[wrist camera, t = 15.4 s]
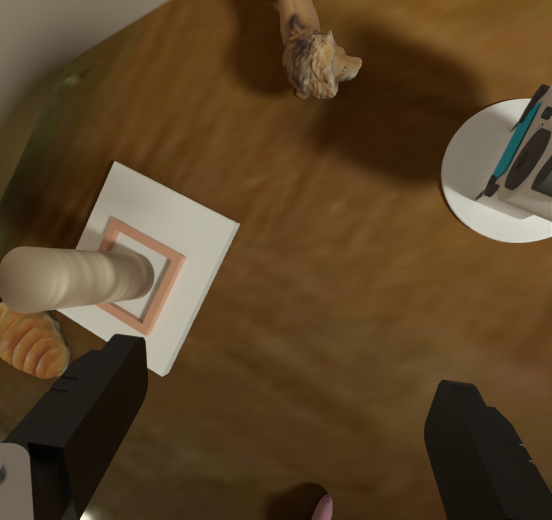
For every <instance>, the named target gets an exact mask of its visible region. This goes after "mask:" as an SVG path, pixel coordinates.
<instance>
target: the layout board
mask: <svg viewBox="0 0 552 520" xmlns="http://www.w3.org/2000/svg"><path fill="white" fill-rule="evenodd" d="M239 225H240V224H239V223H237V222H235V221H233V220H231V219H229V218H227V217H225V216H223V215H222V214H220V213H218V212H216V211H214V210H212V209H210V208H208V207H206V206H204V205H202V204H200V203H198V202H196V201H194V200H192V199H190V198H188V197H186V196H184V195H182V194H180V193H178V192H176V191H174V190H172V189H170V188H168V187H166V186H164V185H162V184H160V183H158V182H156V181H154V180H152V179H150V178H148V177H146V176H145V175H143V174H141V173H139V172H137V171H135V170H133V169H131V168H129V167H127V166H125V165H123V164H121V163H118V162H116V161H114V163H113V166H112V168H111V170H110V172H109V175H108V177H107V179H106V182H105V184H104V186H103V188H102V191H101V193H100V195H99V197H98V200H97V202H96V204H95V206H94V209H93V211H92V213H91V215H90V218H89V220H88V222H87V225H86V227H85V229H84V231H83V234H82V236H81V238H80V240H79V243H78V245H77V247H76V249H75V250H90V251H107V252H123V253H137V254H141V255H143V256H145V257H146V258H147V259H148V260H149V261H150V262H151V264H152V266H153V269H154V283H153V286H152V288H151V290H150V291H149V293H148V294H147V295H145V296H144V297H142V298H139V299H134V300H126V301H118V302H110V303H102V304H94V305H87V306H79V307H71V308H63V309H57V310H58V311H60V312H61V313H63V314H64V315H66V316H68V317H69V318H71V319H72V320H74V321H75V322H77V323H79V324H80V325H82V326H83V327H85V328H86V329H88V330H90V331H91V332H93V333H94V334H96V335H97V336H99V337H101V338H102V339H104V340H105V341H107V342H108V341H109V340H110V338H111V337H112V336H113V335H114V334H124V335H131V336H139V337H144V339H145V341H146V353H147V367H148V368H149V369H151V370H152V371H154V372H155V373H157V374H159V375H160V376H164V375H166V374H168V373H169V371H170V369H171V367H172V365H173V363H174V361H175V359H176V357H177V355H178V352H179V350H180V348H181V346H182V344H183V342H184V340H185V338H186V336H187V334H188V332H189V330H190V327H191V325H192V323H193V321H194V319H195V317H196V315H197V313H198V311H199V309H200V307H201V305H202V302H203V300H204V298H205V296H206V294H207V292H208V290H209V288H210V286H211V284H212V282H213V280H214V277H215V275H216V273H217V271H218V269H219V267H220V265H221V263H222V261H223V259H224V257H225V255H226V252H227V250H228V248H229V246H230V244H231V242H232V240H233V238H234V236H235V234H236V232H237V230H238V228H239Z"/></svg>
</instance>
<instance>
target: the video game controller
mask: <svg viewBox="0 0 552 520" xmlns="http://www.w3.org/2000/svg"><path fill="white" fill-rule="evenodd" d="M332 505H333V504H332V498H331V496H330V495H325V496H323V497H322V498H321V500H320V501H319V503H318V505H317V507H316V509H315V511H314V514H313V516H312V519H311V520H331V517H332Z"/></svg>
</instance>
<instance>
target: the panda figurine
mask: <svg viewBox="0 0 552 520" xmlns="http://www.w3.org/2000/svg"><path fill="white" fill-rule="evenodd" d="M541 97H542V98H541ZM540 98H541V99H540ZM539 99H540V100H539ZM441 182H442V188H443V192H444V195H445V198H446V200H447V203H448V205H449V206H450V208H451V210H452V211H453V212H454V214H455V215H456V216H457V217H458V219H459V220H460V221H461V222H462V223H464V224H465V225H466V226H467V227H469V228H470V229H471V230H473V231H475V232H476V233H478V234H480V235H482V236H485V237H487V238H490V239H493V240H497V241H502V242H510V243H523V242H532V241H538V240H542V239H545V238H548V237H551V236H552V85H551V86H547V85H544V84H543V85H541V86H540V87H539V89H538V90H537V91H536V93H535V94H534V96H533V97H532V99H515V100H509V101H504V102H500V103H498V104H495V105H492V106H490V107H487V108H485V109H483V110H482V111H480V112H478V113H477V114H475V115H474V116H472V117H471V118H470V119H469V120H467V121H466V122H465V123H464V124H463V125H462V126H461V127H460V128H459V130H458V131H457V132H456V133H455V135H454V136H453V138H452V139H451V141H450V143H449V145H448V147H447V149H446V152H445V154H444V158H443V162H442V168H441Z"/></svg>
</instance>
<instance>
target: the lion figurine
mask: <svg viewBox="0 0 552 520" xmlns="http://www.w3.org/2000/svg"><path fill="white" fill-rule="evenodd" d="M277 2H278V5H279V8H280V27H281V28H280V33H281V35H282V40H283V44H284V52H283V59H282V66H283V69H284V72H285V75H286V76H287V78H288V81H289V83H290V84H291V86H292V87H294V88H296V89H297V92H296V94H297V97H298V98H300V99H306V98H308V97H309V96H310V95H311V96H313V97H317V98H319V99H320V98H322V99H327V98H332V97H334V96H335V95H336V92H337V91H338V83H339V82H341V81H347V80H350V79H352V78H354V77H355V76H356V74H357V73H358V70H359V69H360V68H361V65H362V60H361V59H360V58H358V57H350V56H347V55H346V54H345V52H344V49H343V48H342V47H339V46H337V45H336V42H335V40H334V38H333V36H332V32H331V31H329V32H328V33H327V34H322V33H321V32H320V24H319V19H318V16H317V13H316V10H315V7H314V5H313V2H312V0H277Z"/></svg>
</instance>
